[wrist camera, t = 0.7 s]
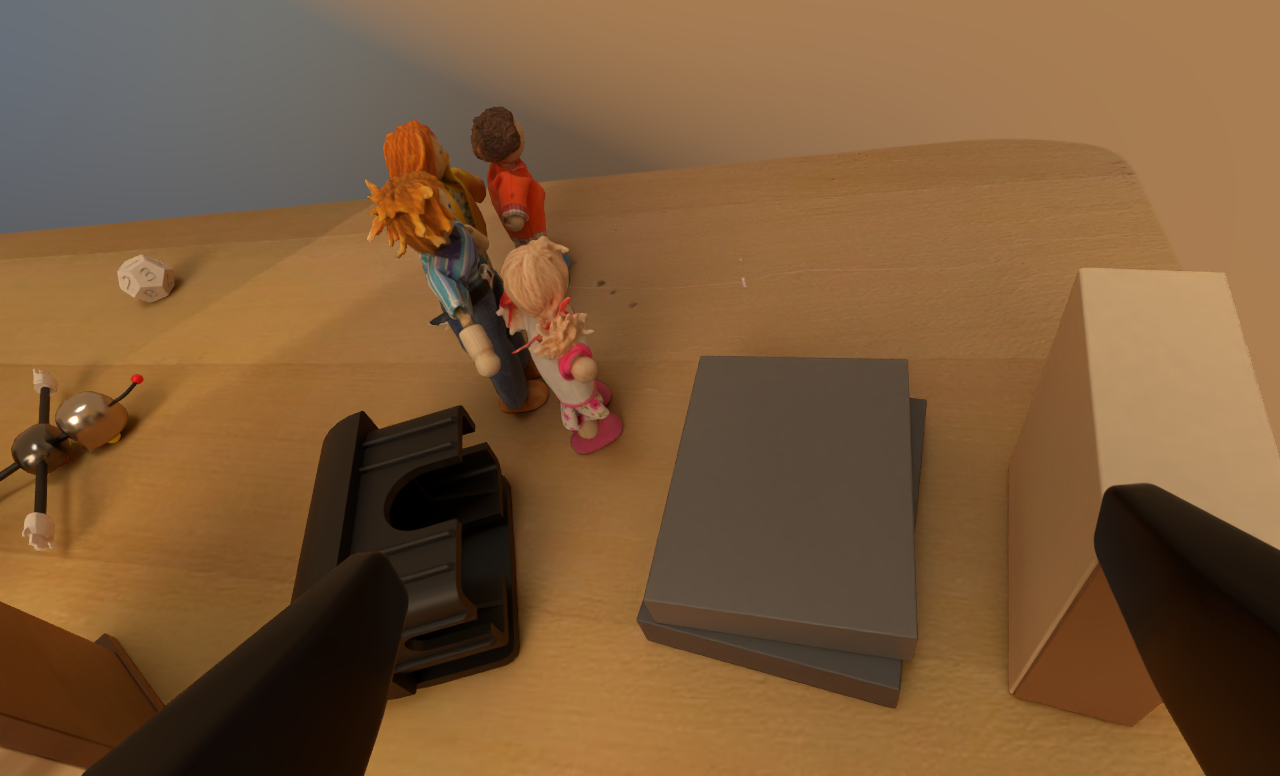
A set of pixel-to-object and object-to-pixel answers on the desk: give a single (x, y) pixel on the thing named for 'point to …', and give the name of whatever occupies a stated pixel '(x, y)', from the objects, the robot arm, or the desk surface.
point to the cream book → (1126, 469)
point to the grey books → (794, 523)
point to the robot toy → (62, 443)
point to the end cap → (422, 538)
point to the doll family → (472, 290)
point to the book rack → (64, 697)
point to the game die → (146, 278)
